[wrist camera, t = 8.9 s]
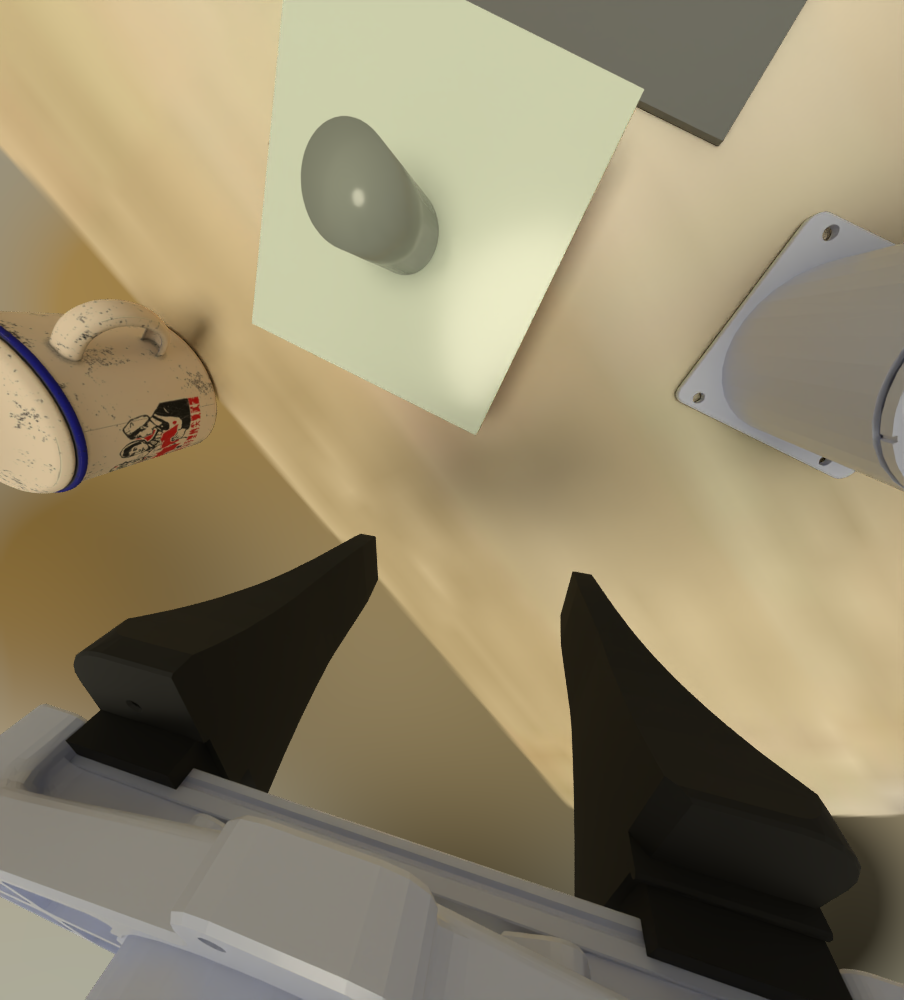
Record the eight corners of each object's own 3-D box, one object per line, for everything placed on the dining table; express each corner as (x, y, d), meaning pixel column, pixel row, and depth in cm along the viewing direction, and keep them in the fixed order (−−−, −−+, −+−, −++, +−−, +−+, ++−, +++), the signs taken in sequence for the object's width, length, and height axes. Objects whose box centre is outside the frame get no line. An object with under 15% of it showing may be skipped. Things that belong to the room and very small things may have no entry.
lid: (637, 104, 11) (713, -68, 6) (478, 431, 17) (456, 468, 12) (306, -60, 11) (137, -354, 6) (263, 323, 17) (159, 319, 12)
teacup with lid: (187, 468, 27) (-24, 549, 17) (92, 370, 25) (-217, 395, 15) (268, 376, 22) (36, 412, 12) (158, 243, 20) (-246, 145, 10)
